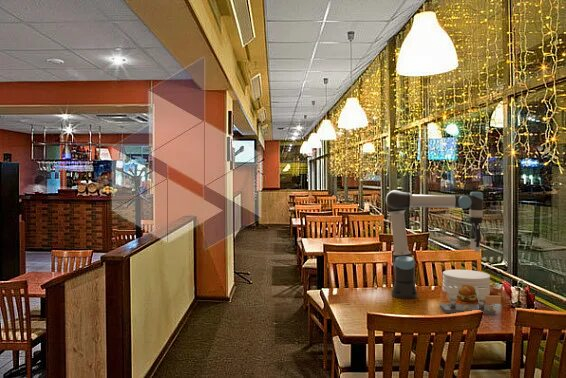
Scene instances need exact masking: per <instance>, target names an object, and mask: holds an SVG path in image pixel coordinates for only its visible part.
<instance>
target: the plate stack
mask: <svg viewBox="0 0 566 378" xmlns="http://www.w3.org/2000/svg"><path fill="white" fill-rule="evenodd" d="M442 279H443V280H442V291H443V292H444V293H446V290H448V286H457V287H458V292H459V290H460V288H461V287H462V286H463V285H471V286H473V287H474V289H475V292H476V287H485V288H487V295H490V294H491V288H490V287H491V275H490V274H489V273H487V272H483V271H479V270H471V269H447V270H444V271H443V272H442ZM457 297H459V293H458V294H457Z"/></svg>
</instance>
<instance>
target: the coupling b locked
mask: <svg viewBox="0 0 566 378" xmlns="http://www.w3.org/2000/svg"><path fill="white" fill-rule="evenodd" d="M476 293H477V299H476V301H477V300H481V301H484V305H488V304H491V305H492V304H493V305H501V304H502V296H501V295H487V288H485V287H476Z"/></svg>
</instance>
